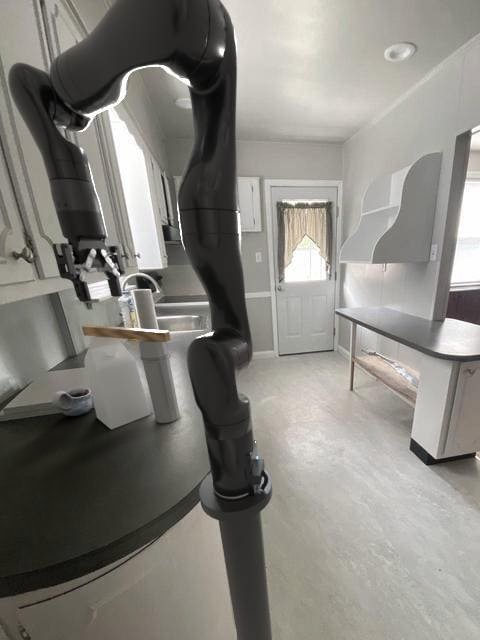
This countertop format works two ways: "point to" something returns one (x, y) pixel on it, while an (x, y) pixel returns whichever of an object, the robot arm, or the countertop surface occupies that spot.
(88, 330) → the stick
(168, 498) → the countertop surface
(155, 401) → the water bottle
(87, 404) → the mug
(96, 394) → the milk
